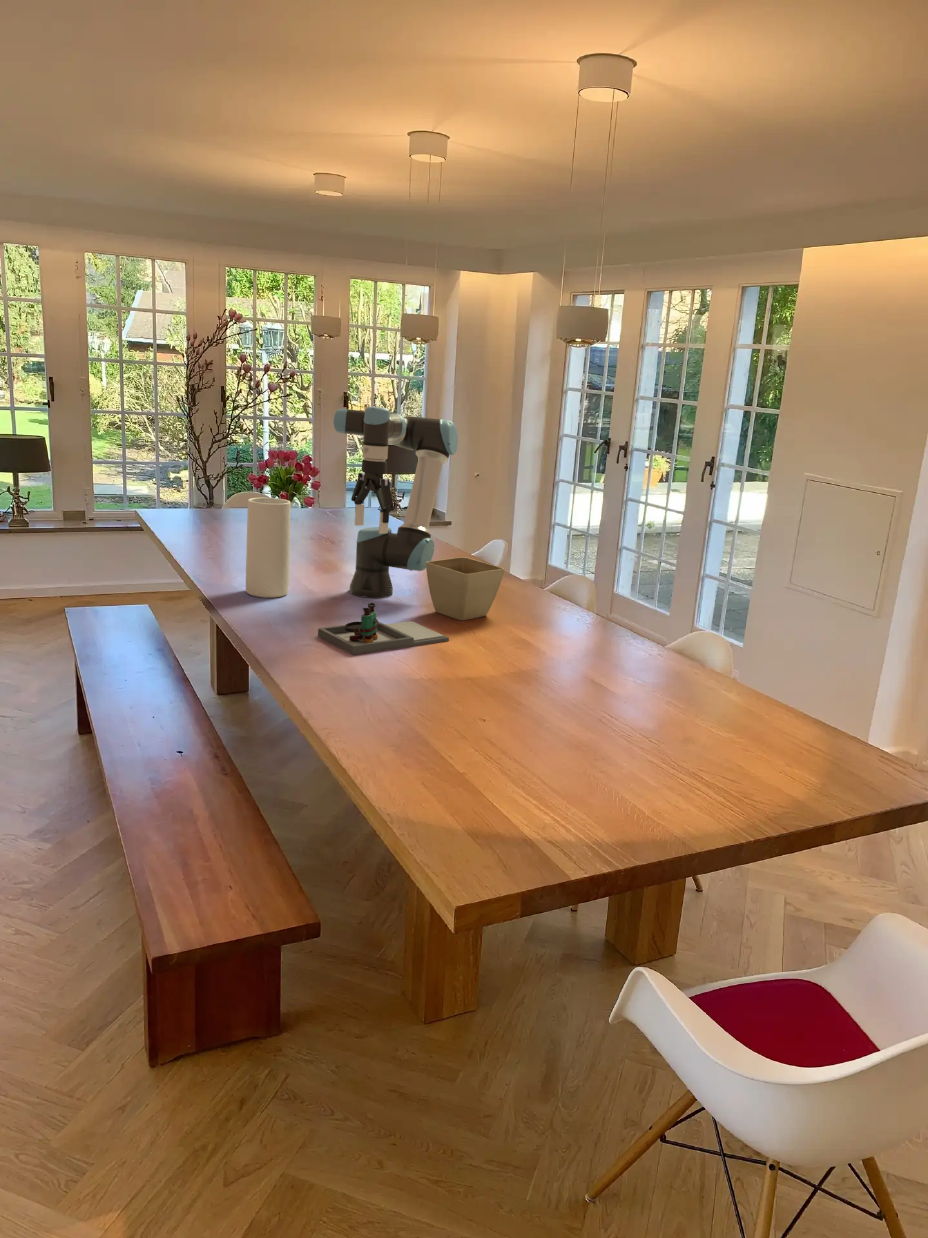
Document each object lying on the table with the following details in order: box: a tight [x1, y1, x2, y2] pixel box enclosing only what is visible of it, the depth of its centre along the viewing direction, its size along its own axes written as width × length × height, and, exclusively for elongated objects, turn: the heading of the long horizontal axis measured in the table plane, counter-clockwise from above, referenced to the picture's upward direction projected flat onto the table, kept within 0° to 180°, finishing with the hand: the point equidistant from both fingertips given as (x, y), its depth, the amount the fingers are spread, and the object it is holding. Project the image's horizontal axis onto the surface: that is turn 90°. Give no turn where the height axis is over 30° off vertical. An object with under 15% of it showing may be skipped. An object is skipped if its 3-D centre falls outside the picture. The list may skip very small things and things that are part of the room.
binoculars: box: [344, 602, 379, 643], centre depth 262 cm, size 9×11×10 cm
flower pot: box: [425, 556, 505, 621], centre depth 299 cm, size 19×19×17 cm
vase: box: [245, 497, 292, 599], centre depth 303 cm, size 14×14×32 cm
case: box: [317, 620, 450, 656], centre depth 267 cm, size 33×19×2 cm, turn 129°
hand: (370, 529), depth 279 cm, fingers open, 13 cm apart
